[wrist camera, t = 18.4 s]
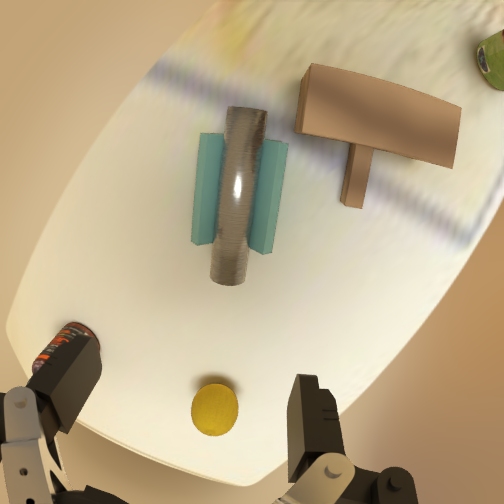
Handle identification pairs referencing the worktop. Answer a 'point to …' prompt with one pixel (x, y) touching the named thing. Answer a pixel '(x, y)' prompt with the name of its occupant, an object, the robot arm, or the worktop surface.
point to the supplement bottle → (59, 343)
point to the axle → (237, 193)
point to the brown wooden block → (375, 122)
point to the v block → (265, 195)
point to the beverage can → (492, 59)
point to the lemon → (214, 409)
